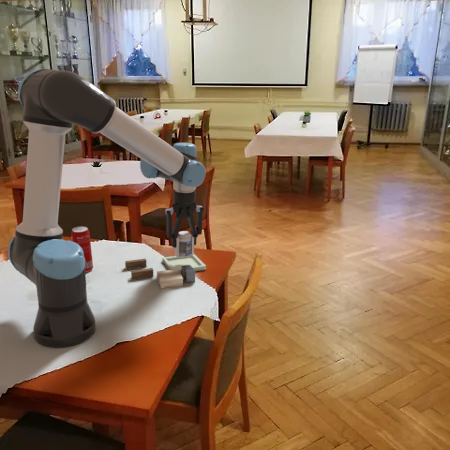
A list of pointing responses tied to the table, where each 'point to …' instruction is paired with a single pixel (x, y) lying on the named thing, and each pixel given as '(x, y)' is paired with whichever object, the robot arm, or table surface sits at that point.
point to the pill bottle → (184, 244)
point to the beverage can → (83, 244)
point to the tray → (183, 262)
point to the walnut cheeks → (138, 273)
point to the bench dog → (188, 273)
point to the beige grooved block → (169, 278)
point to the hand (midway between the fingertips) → (184, 254)
